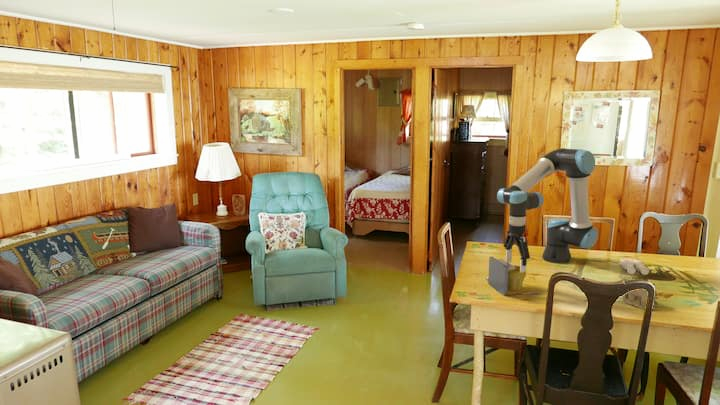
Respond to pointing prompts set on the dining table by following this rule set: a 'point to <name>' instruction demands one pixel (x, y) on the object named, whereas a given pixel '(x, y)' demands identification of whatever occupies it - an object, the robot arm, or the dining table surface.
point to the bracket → (501, 276)
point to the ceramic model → (638, 298)
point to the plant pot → (515, 278)
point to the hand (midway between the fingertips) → (515, 267)
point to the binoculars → (634, 266)
